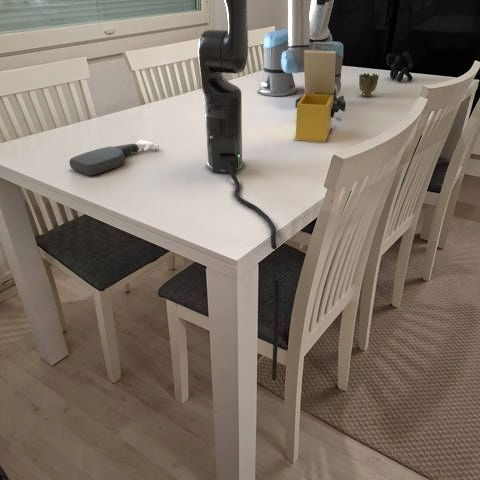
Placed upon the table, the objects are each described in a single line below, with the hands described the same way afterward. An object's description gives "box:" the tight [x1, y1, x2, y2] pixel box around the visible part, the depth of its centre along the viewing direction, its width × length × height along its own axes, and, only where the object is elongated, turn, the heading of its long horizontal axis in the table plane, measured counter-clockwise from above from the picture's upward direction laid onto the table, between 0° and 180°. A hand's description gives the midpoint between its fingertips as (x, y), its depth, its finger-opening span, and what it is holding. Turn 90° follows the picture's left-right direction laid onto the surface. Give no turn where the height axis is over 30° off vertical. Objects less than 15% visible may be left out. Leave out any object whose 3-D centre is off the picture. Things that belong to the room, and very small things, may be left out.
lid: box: [303, 41, 336, 94], centre depth 136 cm, size 14×9×8 cm
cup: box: [358, 72, 380, 98], centre depth 176 cm, size 8×7×8 cm
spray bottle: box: [68, 139, 160, 177], centre depth 124 cm, size 3×11×24 cm
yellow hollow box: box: [295, 92, 334, 143], centre depth 138 cm, size 13×9×11 cm
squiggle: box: [385, 51, 414, 83], centre depth 198 cm, size 11×10×15 cm
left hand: (323, 3), depth 121 cm, fingers open, 8 cm apart
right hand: (316, 111), depth 140 cm, fingers closed on yellow hollow box, 9 cm apart
